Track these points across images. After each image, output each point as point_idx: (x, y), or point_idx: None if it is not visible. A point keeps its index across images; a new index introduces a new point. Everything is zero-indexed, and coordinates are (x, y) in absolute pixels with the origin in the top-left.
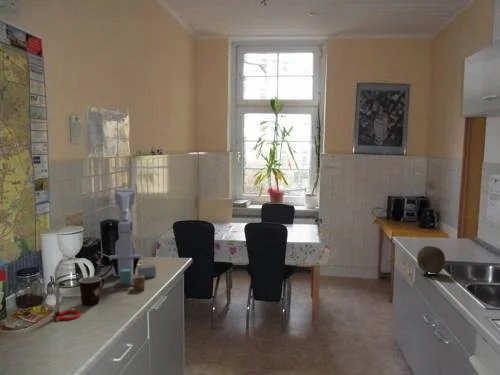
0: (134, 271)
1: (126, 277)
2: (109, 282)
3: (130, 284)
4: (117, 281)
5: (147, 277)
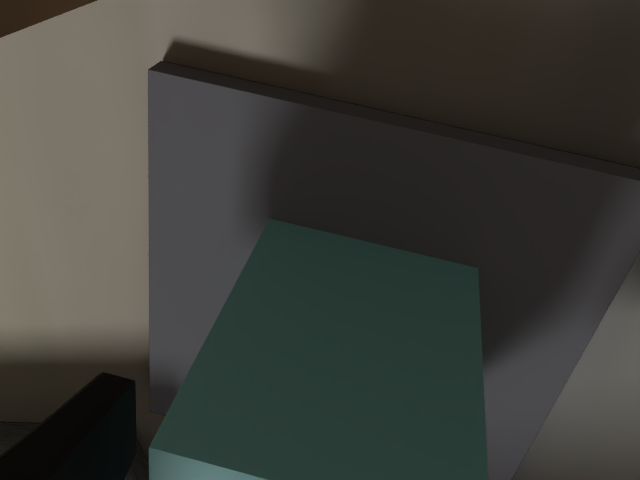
0: (40, 432)
1: (317, 332)
2: (633, 467)
3: (264, 169)
4: (500, 423)
5: (23, 428)
